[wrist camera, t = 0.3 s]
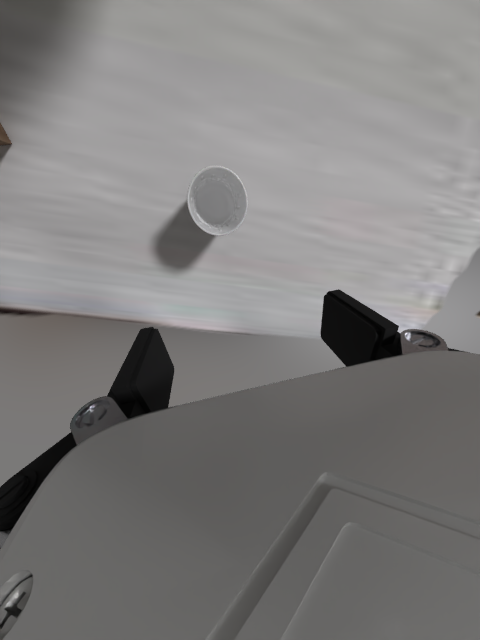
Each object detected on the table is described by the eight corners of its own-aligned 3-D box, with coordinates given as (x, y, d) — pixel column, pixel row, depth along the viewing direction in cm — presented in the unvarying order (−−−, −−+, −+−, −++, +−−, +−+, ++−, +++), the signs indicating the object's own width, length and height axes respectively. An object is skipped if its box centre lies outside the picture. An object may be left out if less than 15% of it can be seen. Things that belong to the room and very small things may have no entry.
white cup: (196, 231, 36) (194, 238, 27) (186, 178, 32) (180, 168, 23) (238, 226, 37) (249, 232, 28) (234, 174, 33) (245, 163, 24)
